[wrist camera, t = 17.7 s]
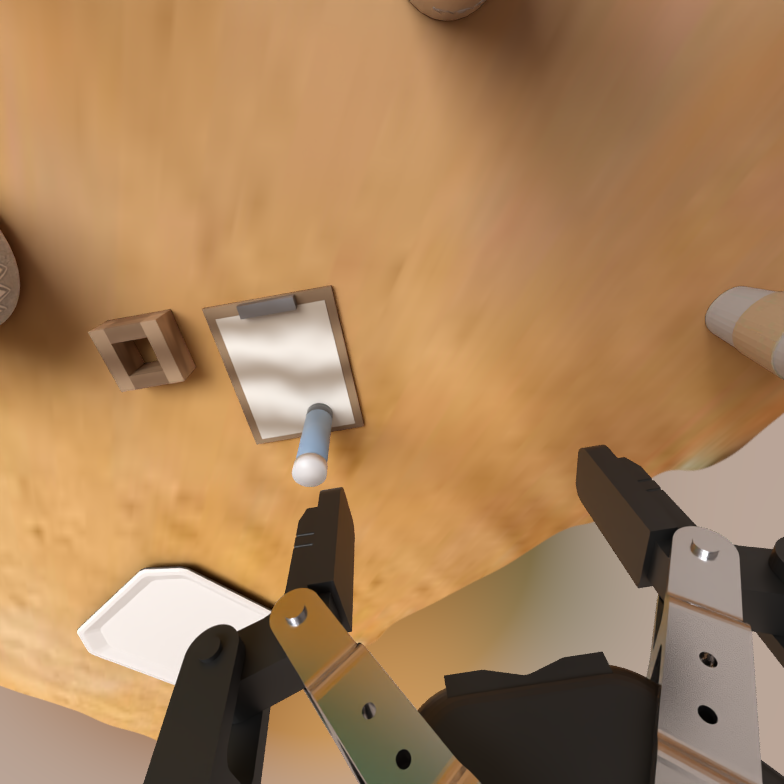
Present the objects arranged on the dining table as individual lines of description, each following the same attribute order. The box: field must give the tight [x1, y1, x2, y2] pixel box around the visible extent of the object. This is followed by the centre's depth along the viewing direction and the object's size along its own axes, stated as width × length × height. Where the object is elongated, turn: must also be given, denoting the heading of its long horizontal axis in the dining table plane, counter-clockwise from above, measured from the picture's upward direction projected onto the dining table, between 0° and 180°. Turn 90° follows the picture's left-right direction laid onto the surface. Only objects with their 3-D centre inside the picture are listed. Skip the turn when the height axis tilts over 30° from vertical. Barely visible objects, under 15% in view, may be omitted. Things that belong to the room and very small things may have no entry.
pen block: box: [88, 309, 196, 392], centre depth 43 cm, size 7×7×4 cm
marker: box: [292, 403, 333, 487], centre depth 45 cm, size 3×3×11 cm
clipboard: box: [202, 285, 364, 444], centre depth 47 cm, size 18×14×2 cm
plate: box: [77, 566, 272, 685], centre depth 69 cm, size 29×29×2 cm
